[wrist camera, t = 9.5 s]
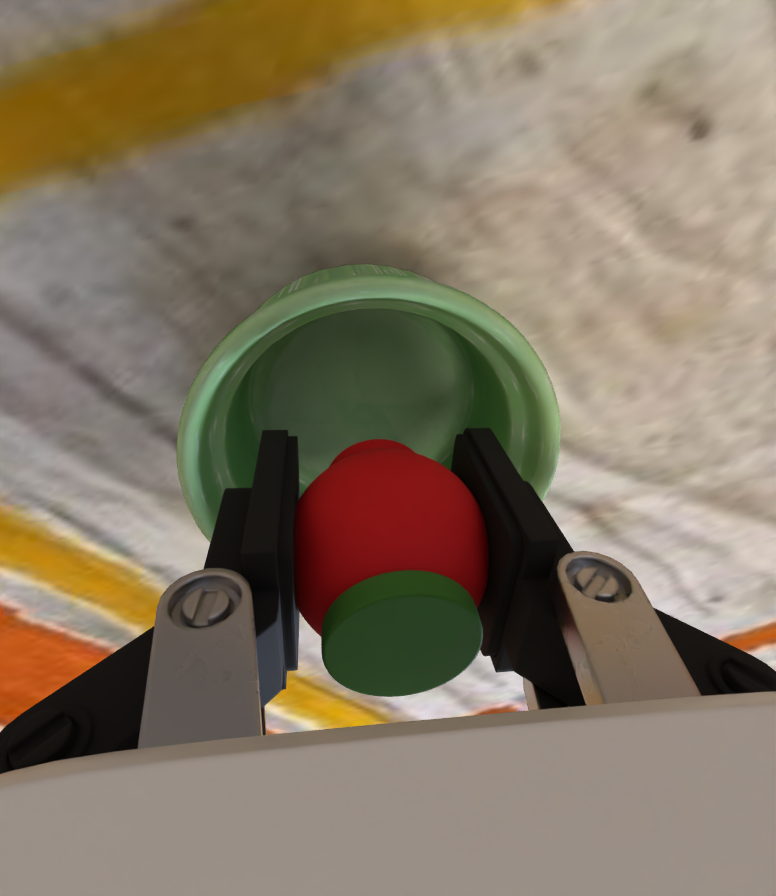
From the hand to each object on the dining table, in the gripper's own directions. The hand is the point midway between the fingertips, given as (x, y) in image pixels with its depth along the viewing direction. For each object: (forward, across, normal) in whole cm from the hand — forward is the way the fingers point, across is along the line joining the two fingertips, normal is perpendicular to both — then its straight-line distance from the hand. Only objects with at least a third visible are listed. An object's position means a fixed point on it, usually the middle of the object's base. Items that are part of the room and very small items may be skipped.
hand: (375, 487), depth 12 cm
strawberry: (0, 0, 0) cm, 0 cm away
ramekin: (+5, 0, 0) cm, 5 cm away
